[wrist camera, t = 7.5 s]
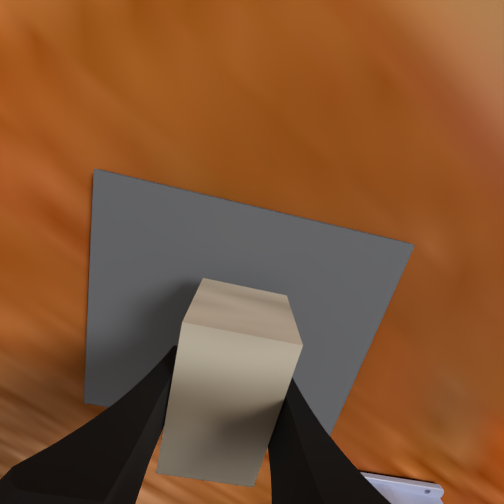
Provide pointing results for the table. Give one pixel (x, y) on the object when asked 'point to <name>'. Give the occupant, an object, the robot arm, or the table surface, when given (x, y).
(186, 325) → the birch card box
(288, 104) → the table surface
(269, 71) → the table surface
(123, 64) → the table surface
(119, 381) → the charcoal rubber mat
